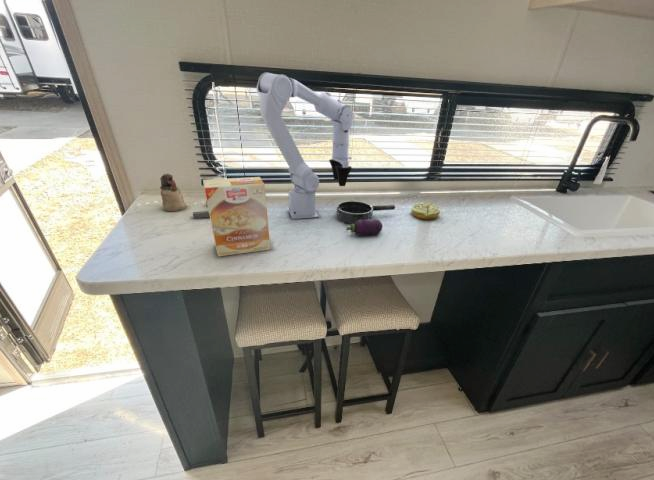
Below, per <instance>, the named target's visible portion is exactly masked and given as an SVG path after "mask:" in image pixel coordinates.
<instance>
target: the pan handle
mask: <svg viewBox="0 0 654 480" xmlns="http://www.w3.org/2000/svg"><path fill="white" fill-rule="evenodd" d="M371 206H372V207H373V212H376V211H393V210H395V209H396V205H395V204H381V205H380V204H379V205H371Z"/></svg>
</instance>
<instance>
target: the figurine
mask: <svg viewBox="0 0 654 480" xmlns="http://www.w3.org/2000/svg"><path fill="white" fill-rule="evenodd" d="M173 178H174V176H173V175H172V174H170V173H168V172H167V173H163V174H162V175H161V177H160V178H159V179H160V187H159V189H160V196H161V201H162V207H163V209H164V211H166V212H179V211H183V210H184V209H186V202H185V200H184V197H183V194H182V192H181V190H180V188H179V187H178V186H177V184H176V182H175V181H176V180H174V179H173Z"/></svg>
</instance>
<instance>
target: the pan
mask: <svg viewBox="0 0 654 480" xmlns="http://www.w3.org/2000/svg"><path fill="white" fill-rule="evenodd" d="M372 206H373V205H371V204H369V203H367V202H364V201H359V200H347V201H342V202H339V203H338V204H337V205H336V218H337V220H338V221H340V222H341V223H344V224H349V225H351V224H354V223H355V222H356V221H358V220H366V219H373V214H374V211H373V207H372Z"/></svg>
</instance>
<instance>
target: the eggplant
mask: <svg viewBox="0 0 654 480" xmlns="http://www.w3.org/2000/svg"><path fill="white" fill-rule="evenodd" d="M349 225H350V226H346V231H350V233H352V234H353V233H355V235H357V236H371V235H378V234H379V233H381V232H382V230H383V223H382V221H381V220H380V219H378V218H372V219H366V220H358V221H356V222H355V223H354V224H349Z"/></svg>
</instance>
